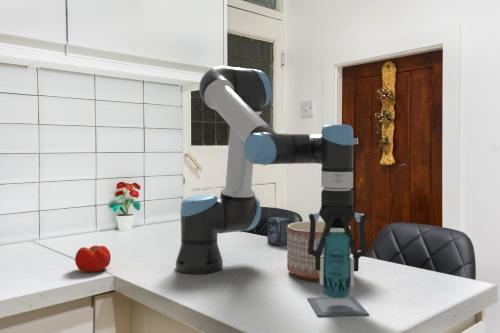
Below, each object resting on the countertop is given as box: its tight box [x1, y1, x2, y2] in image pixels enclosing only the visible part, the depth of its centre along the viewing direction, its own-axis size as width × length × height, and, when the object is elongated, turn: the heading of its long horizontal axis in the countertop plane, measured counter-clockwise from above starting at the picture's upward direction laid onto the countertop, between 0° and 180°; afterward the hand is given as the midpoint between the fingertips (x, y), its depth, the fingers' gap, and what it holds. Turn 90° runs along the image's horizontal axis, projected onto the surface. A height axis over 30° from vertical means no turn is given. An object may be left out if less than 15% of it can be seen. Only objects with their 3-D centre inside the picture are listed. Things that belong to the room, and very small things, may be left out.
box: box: [267, 216, 291, 247], centre depth 181 cm, size 8×6×11 cm
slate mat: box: [306, 296, 370, 318], centre depth 109 cm, size 12×12×1 cm
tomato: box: [74, 245, 112, 273], centre depth 142 cm, size 11×11×8 cm
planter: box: [286, 220, 352, 282], centre depth 137 cm, size 19×19×15 cm
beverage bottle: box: [322, 219, 351, 298], centre depth 108 cm, size 6×7×20 cm
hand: (336, 283), depth 108 cm, fingers closed on beverage bottle, 6 cm apart
